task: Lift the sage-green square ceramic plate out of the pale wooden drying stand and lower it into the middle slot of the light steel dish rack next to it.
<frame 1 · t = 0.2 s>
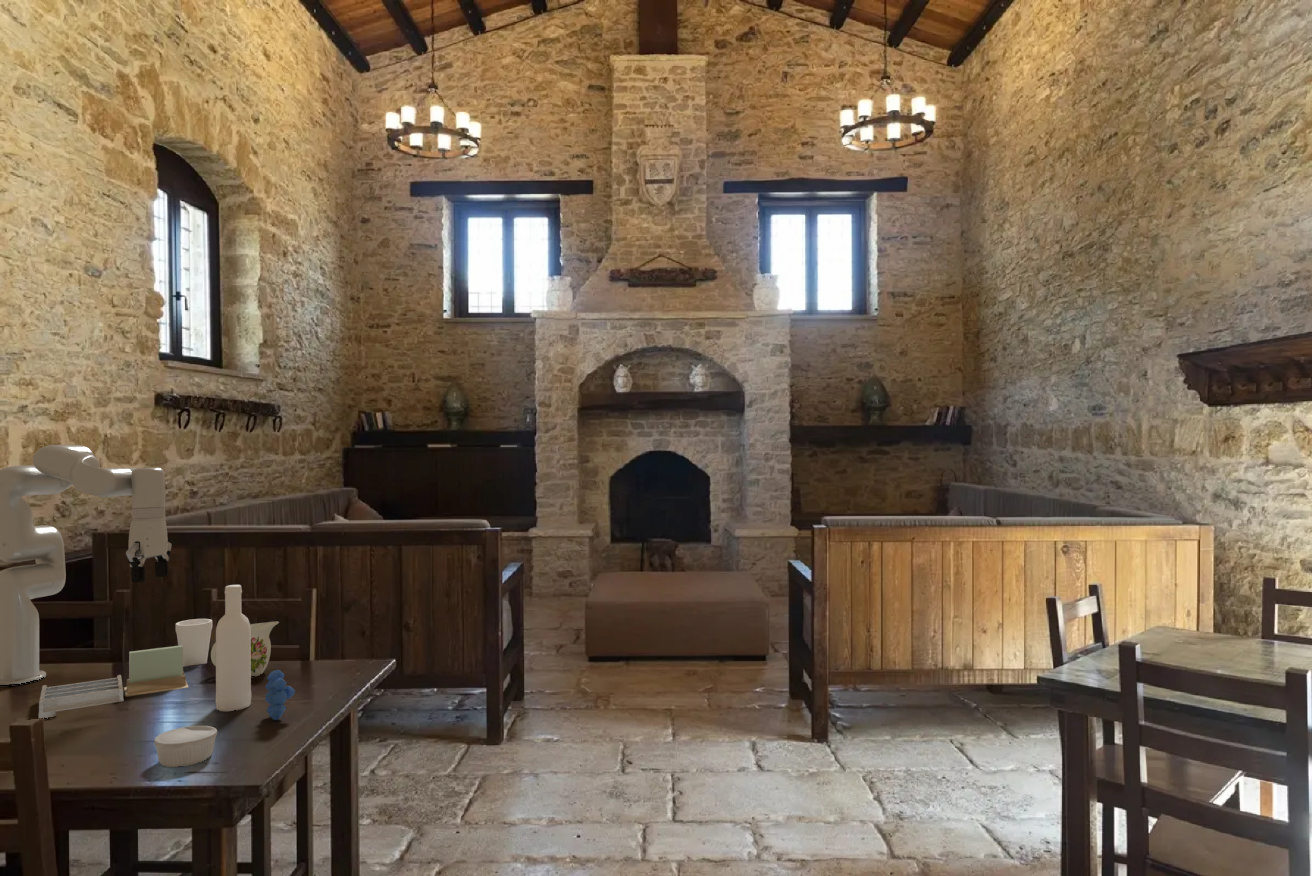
hand: (150, 579, 218), 30 cm above the table, tool pointing down, fingers open, 9 cm apart
pitcher: (245, 675, 234), on the table
grapes: (280, 719, 195), on the table
rack: (82, 704, 208), on the table
plate: (156, 687, 217), point 1 cm above the table, touching stand
stand: (156, 692, 217), on the table
bottle: (233, 707, 205), on the table
foam cup: (194, 666, 244), on the table
ramekin: (186, 760, 171), on the table
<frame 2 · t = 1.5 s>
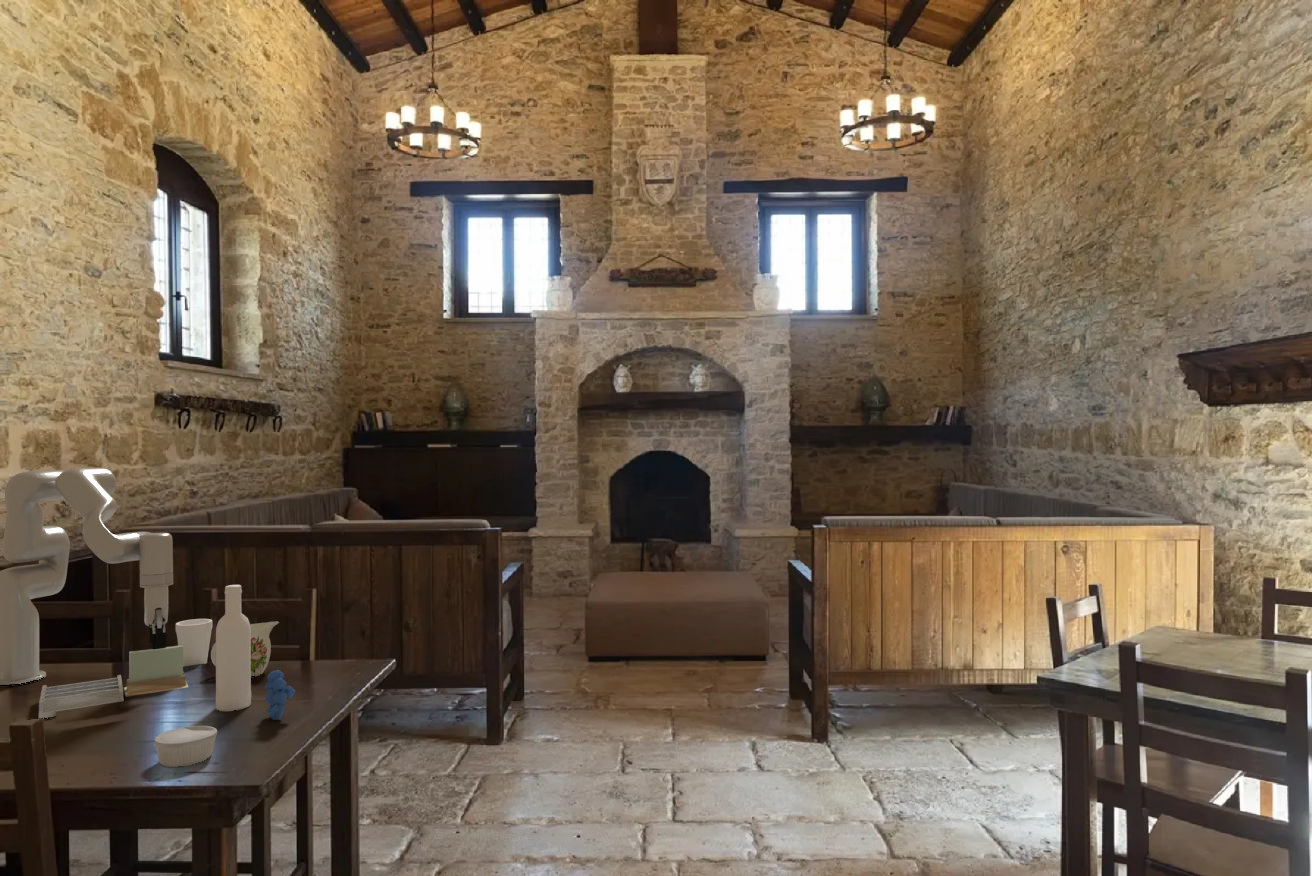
hand: (157, 645, 217), 13 cm above the table, tool pointing down, fingers open, 9 cm apart
nothing on the table moved.
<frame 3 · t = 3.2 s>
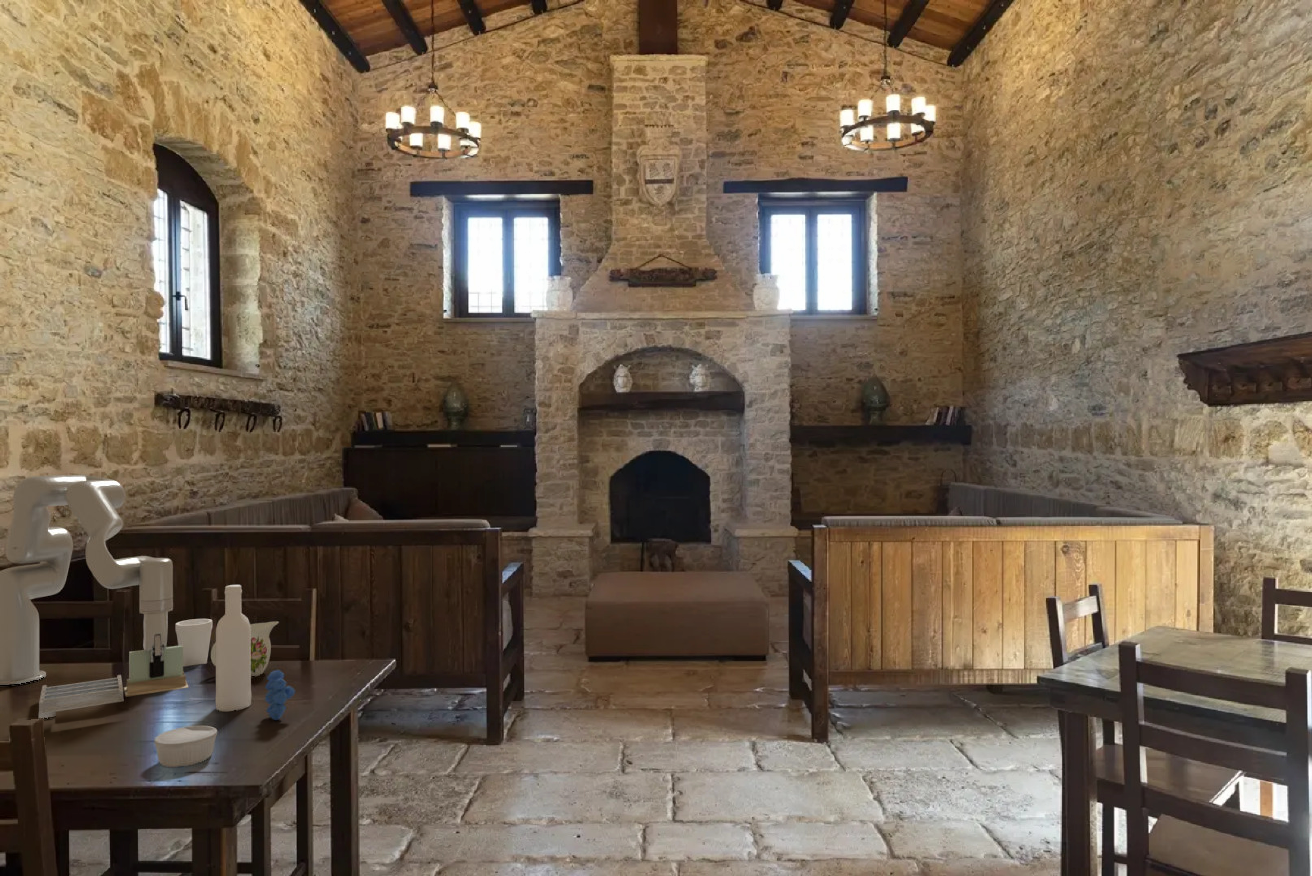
hand: (156, 675, 217), 5 cm above the table, tool pointing down, fingers closed on plate, 2 cm apart
plate: (156, 687, 217), point 2 cm above the table, touching gripper, stand
everything else where it was.
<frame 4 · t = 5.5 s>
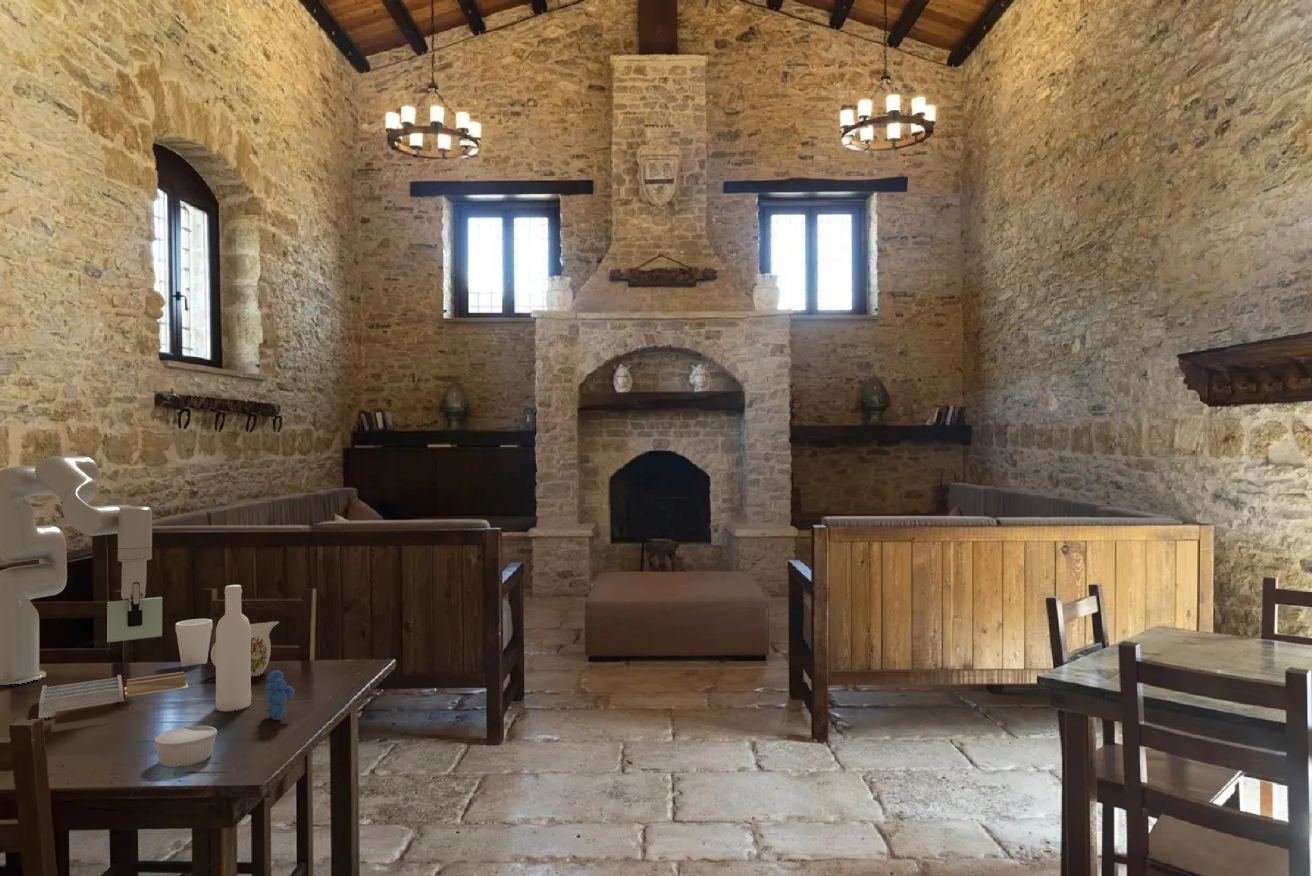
hand: (134, 624, 215), 19 cm above the table, tool pointing down, fingers closed on plate
plate: (134, 638, 215), point 15 cm above the table, touching gripper
everything else where it was.
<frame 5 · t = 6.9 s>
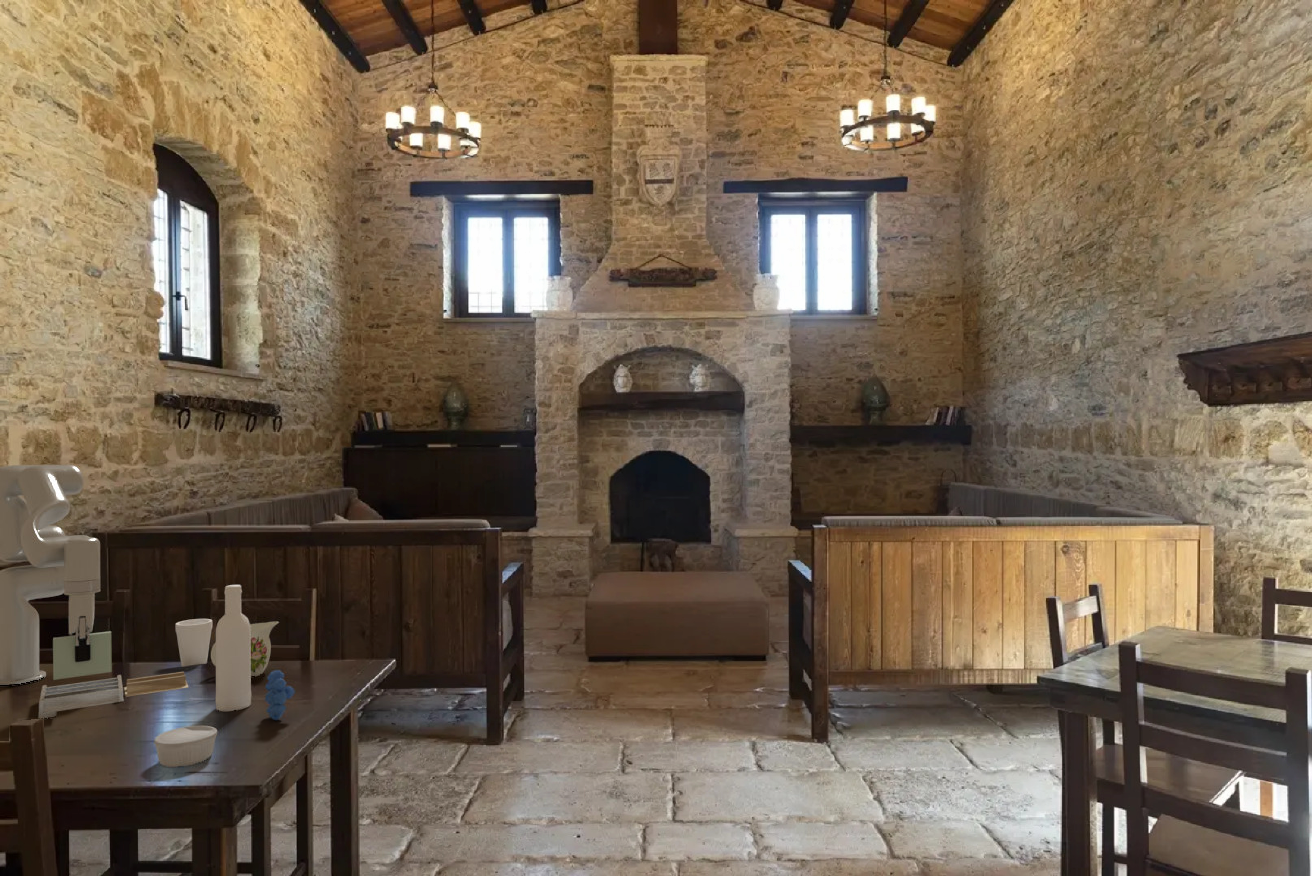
hand: (82, 659, 208), 11 cm above the table, tool pointing down, fingers closed on plate
plate: (82, 674, 208), point 7 cm above the table, touching gripper
everything else where it was.
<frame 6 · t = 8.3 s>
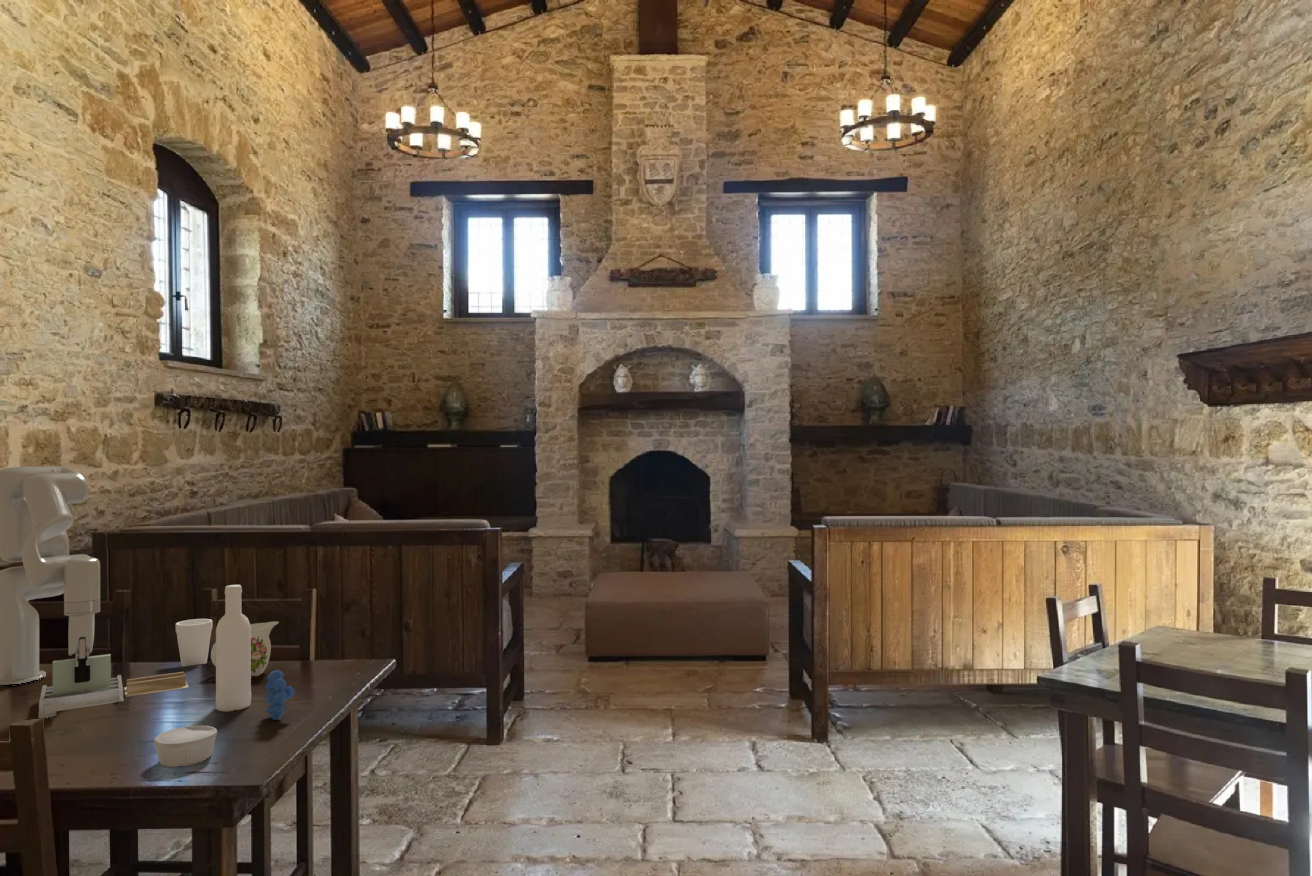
hand: (82, 679, 208), 6 cm above the table, tool pointing down, fingers open, 3 cm apart
plate: (82, 697, 208), point 1 cm above the table, touching rack
everything else where it was.
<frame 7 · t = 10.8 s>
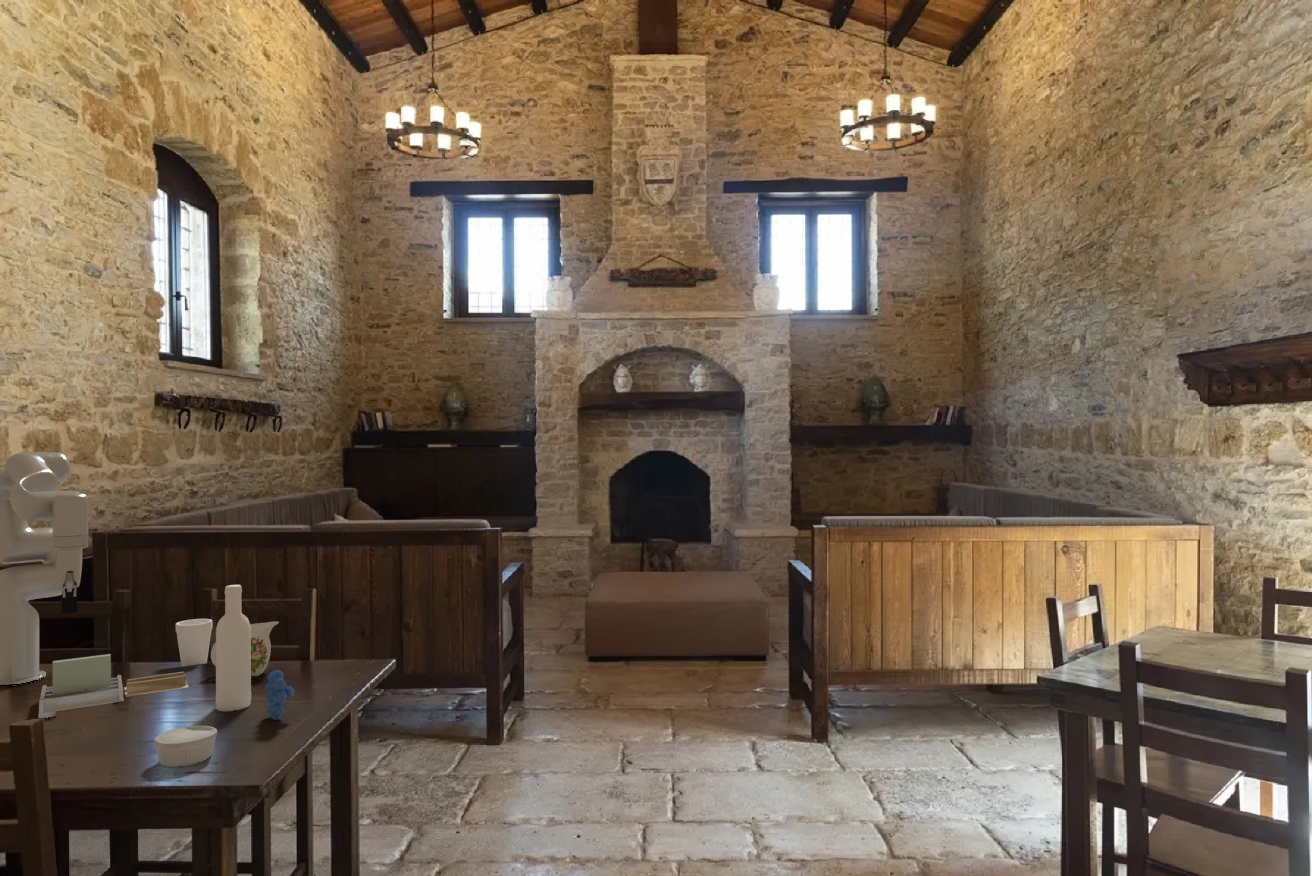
hand: (69, 609, 210), 24 cm above the table, tool pointing down, fingers open, 9 cm apart
nothing on the table moved.
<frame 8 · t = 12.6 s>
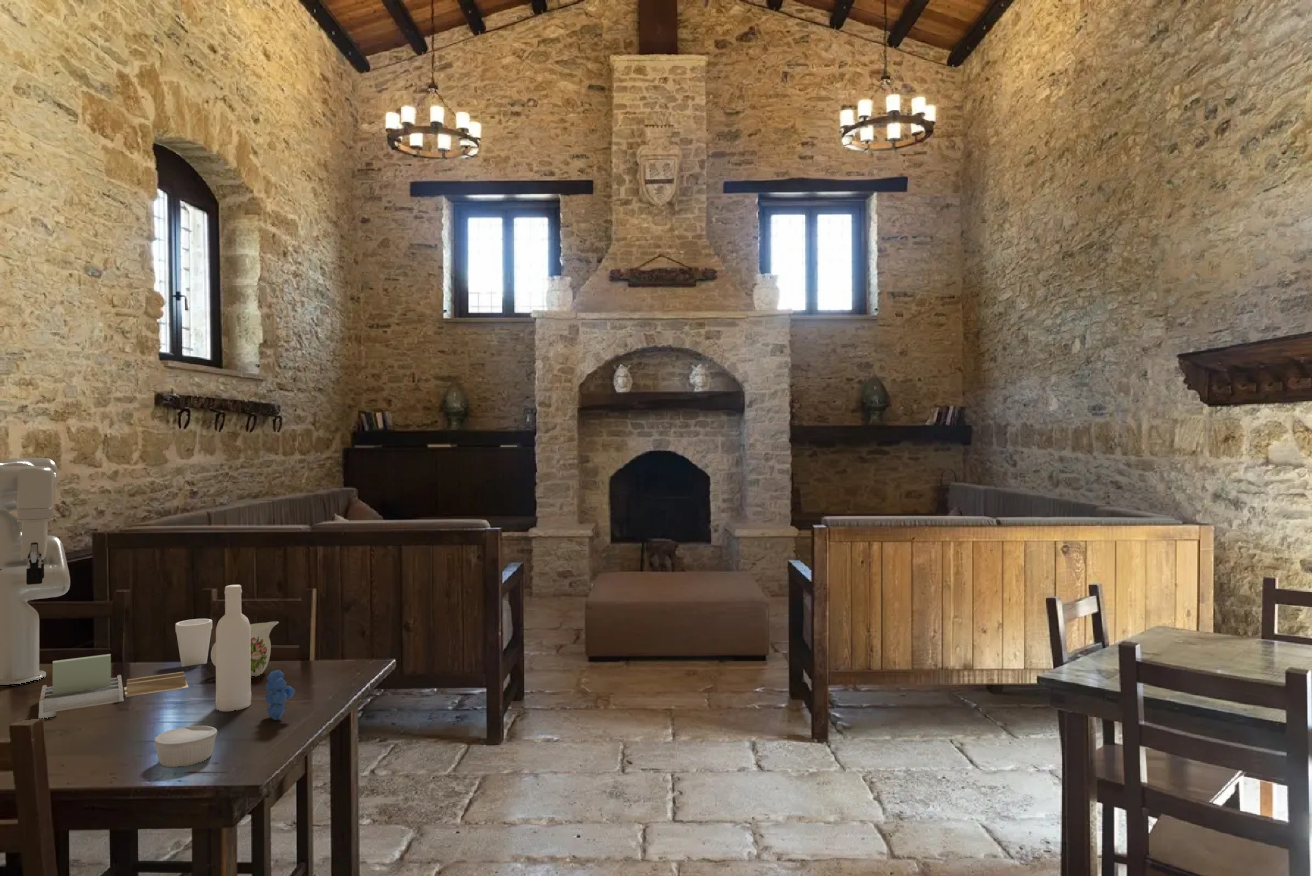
hand: (35, 581, 213), 30 cm above the table, tool pointing down, fingers open, 9 cm apart
nothing on the table moved.
at the end: plate 0.1 cm off-centre on the rack, point 1.5 cm above the rack's base; plate tilted 0°; the gripper is holding nothing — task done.
